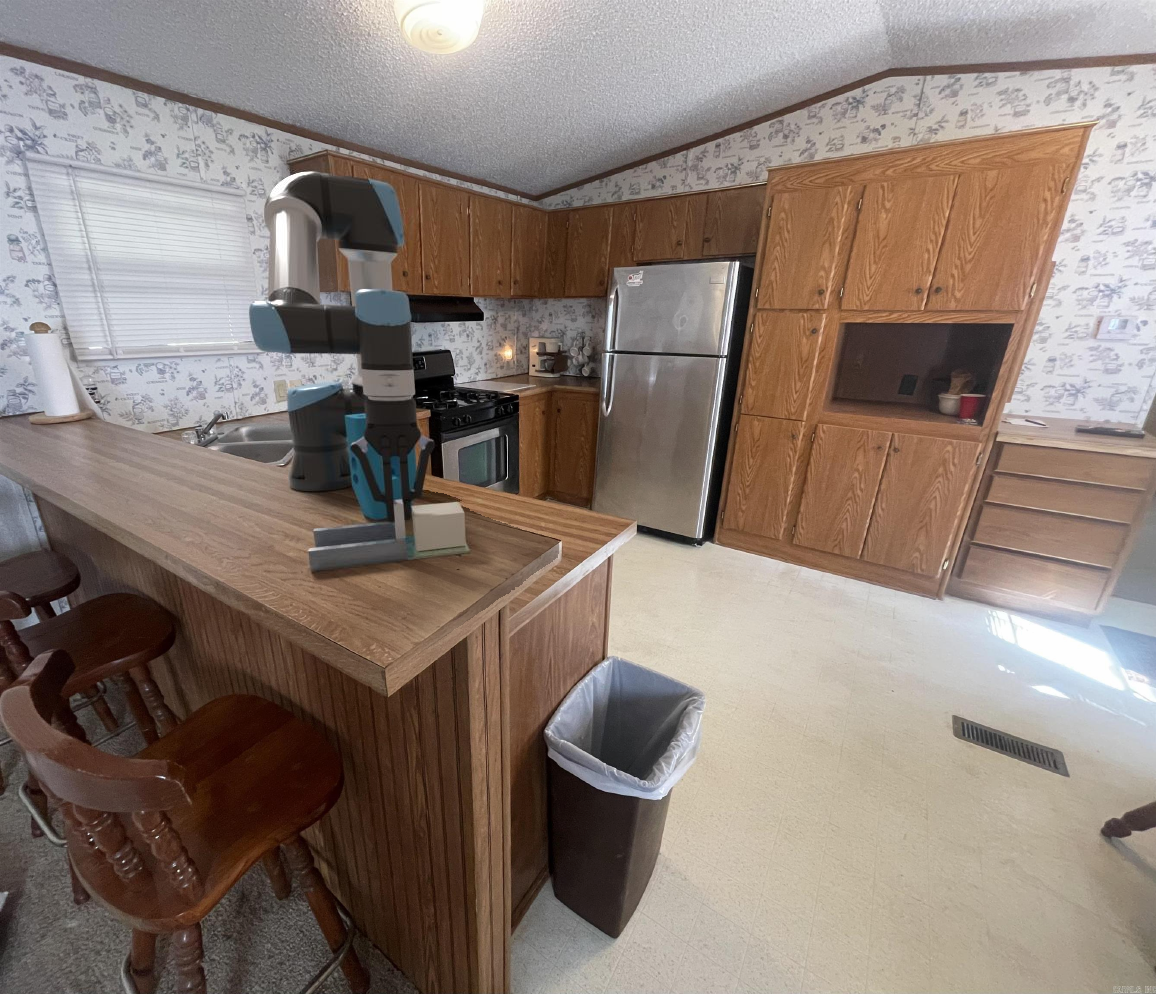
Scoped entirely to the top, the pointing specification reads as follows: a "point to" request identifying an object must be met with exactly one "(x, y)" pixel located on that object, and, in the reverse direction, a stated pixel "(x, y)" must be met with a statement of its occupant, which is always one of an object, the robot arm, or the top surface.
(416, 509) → the block
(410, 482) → the block
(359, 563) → the chute
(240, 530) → the top surface
